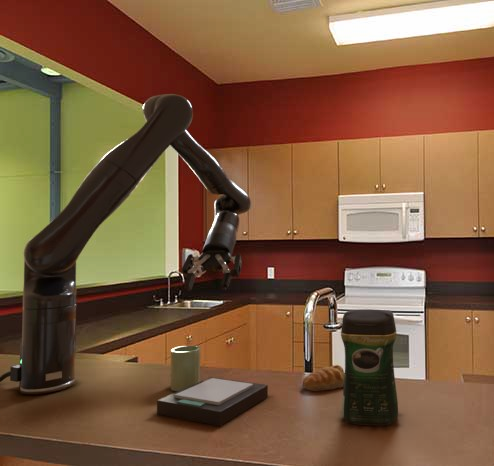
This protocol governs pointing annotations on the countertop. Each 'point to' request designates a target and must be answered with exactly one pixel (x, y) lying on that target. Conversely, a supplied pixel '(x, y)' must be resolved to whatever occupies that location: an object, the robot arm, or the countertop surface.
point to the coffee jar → (369, 367)
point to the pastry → (325, 378)
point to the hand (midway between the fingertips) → (205, 287)
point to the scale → (212, 400)
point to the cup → (185, 367)
